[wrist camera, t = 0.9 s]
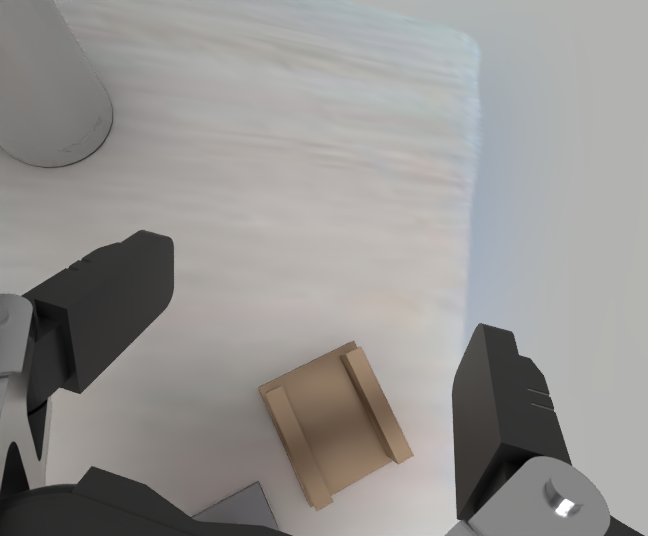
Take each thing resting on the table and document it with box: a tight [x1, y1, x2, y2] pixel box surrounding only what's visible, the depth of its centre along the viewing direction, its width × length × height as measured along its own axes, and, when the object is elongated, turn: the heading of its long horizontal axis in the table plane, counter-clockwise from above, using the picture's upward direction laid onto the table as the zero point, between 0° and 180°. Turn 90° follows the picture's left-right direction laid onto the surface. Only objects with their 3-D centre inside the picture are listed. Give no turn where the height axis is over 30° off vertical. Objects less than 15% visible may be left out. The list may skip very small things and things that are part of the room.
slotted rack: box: [259, 341, 414, 511], centre depth 31 cm, size 9×8×4 cm
